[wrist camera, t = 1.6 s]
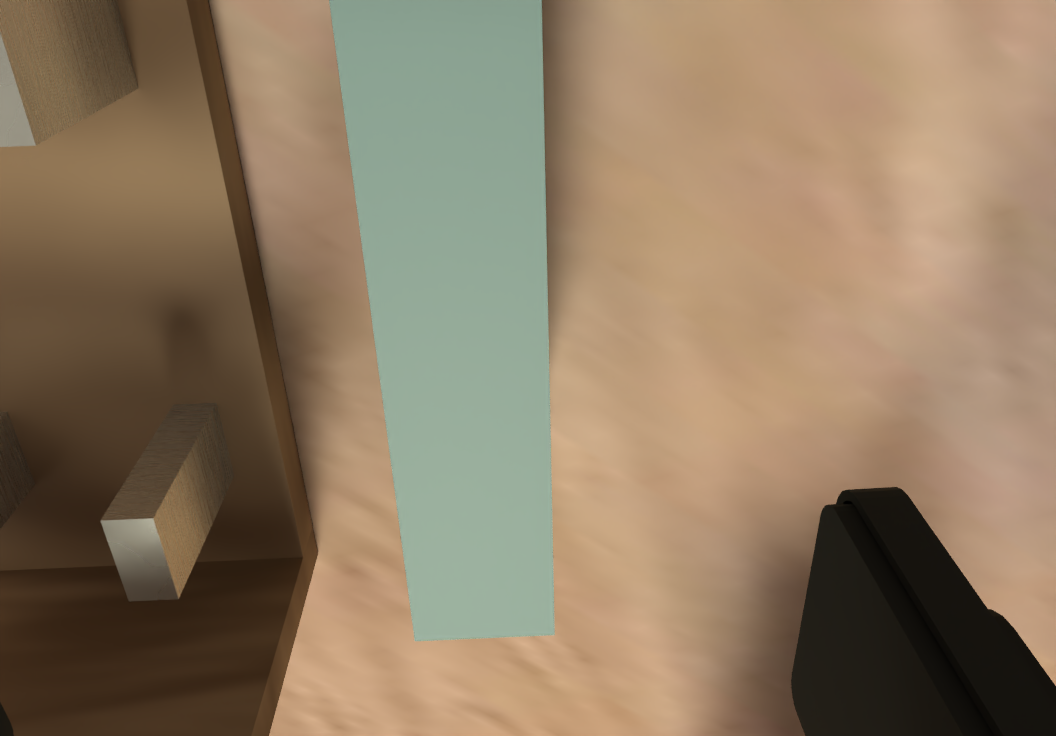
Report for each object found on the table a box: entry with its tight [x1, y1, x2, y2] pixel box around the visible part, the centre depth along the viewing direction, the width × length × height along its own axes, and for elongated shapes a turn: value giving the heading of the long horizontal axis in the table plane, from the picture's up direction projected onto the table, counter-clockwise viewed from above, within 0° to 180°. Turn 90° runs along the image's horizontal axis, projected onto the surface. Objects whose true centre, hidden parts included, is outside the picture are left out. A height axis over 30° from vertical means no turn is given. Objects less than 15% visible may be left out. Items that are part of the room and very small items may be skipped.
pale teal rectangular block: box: [329, 0, 555, 641], centre depth 19 cm, size 14×3×9 cm, turn 2°
